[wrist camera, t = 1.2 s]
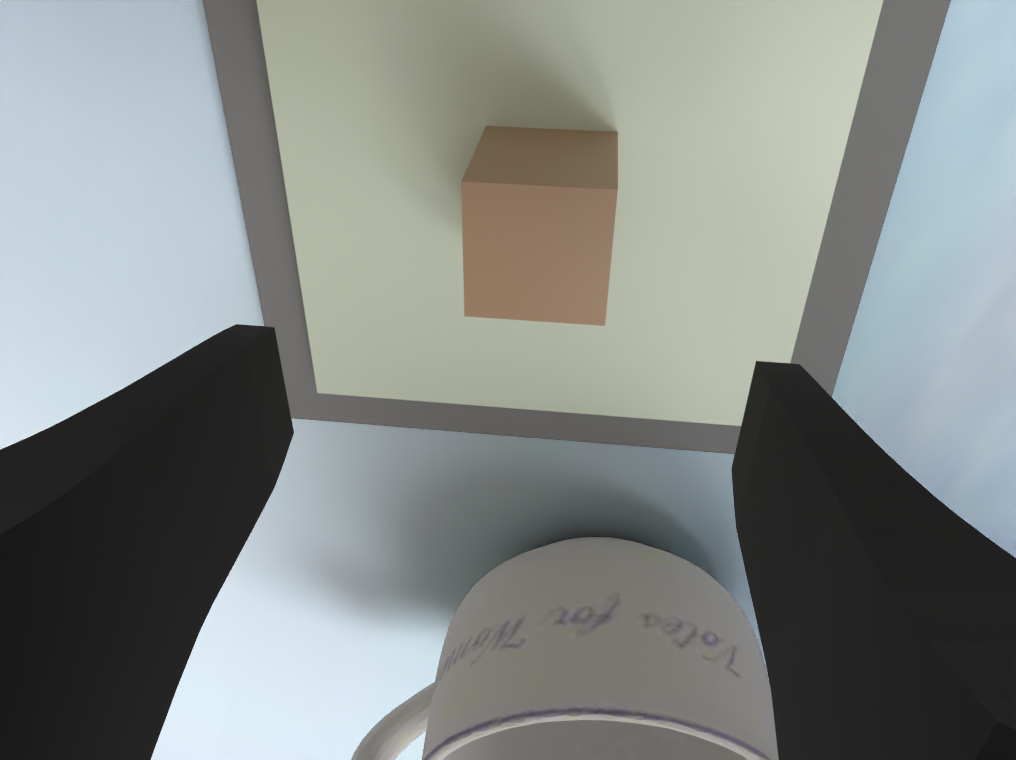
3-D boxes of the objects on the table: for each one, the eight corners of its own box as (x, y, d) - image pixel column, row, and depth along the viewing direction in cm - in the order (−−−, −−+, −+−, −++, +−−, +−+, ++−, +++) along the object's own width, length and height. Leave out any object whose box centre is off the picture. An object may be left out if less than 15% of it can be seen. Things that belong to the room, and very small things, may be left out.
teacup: (754, 476, 24) (803, 713, 18) (764, 690, 30) (804, 927, 24) (334, 508, 27) (245, 721, 21) (417, 697, 33) (368, 910, 27)
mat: (1009, -226, 14) (1018, -228, 14) (809, 451, 24) (812, 460, 23) (168, -233, 16) (158, -234, 16) (286, 409, 25) (282, 417, 25)
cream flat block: (906, -129, 15) (987, -116, 12) (770, 415, 23) (796, 517, 19) (245, -141, 16) (149, -132, 13) (323, 381, 24) (275, 472, 20)
